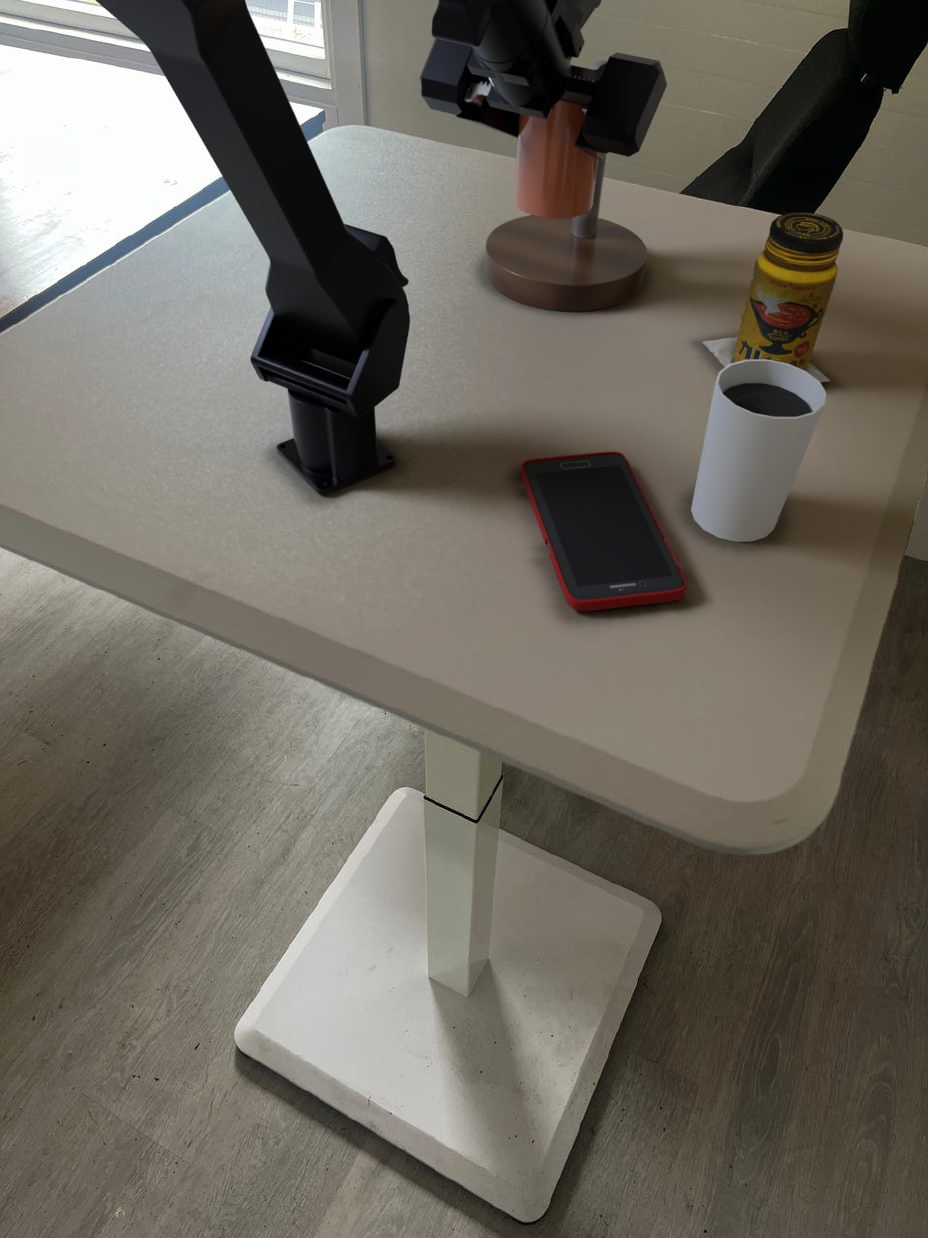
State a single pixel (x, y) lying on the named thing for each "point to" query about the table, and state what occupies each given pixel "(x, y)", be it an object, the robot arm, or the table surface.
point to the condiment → (787, 294)
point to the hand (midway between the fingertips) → (566, 144)
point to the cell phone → (601, 532)
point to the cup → (554, 165)
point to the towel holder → (566, 258)
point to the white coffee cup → (754, 446)
